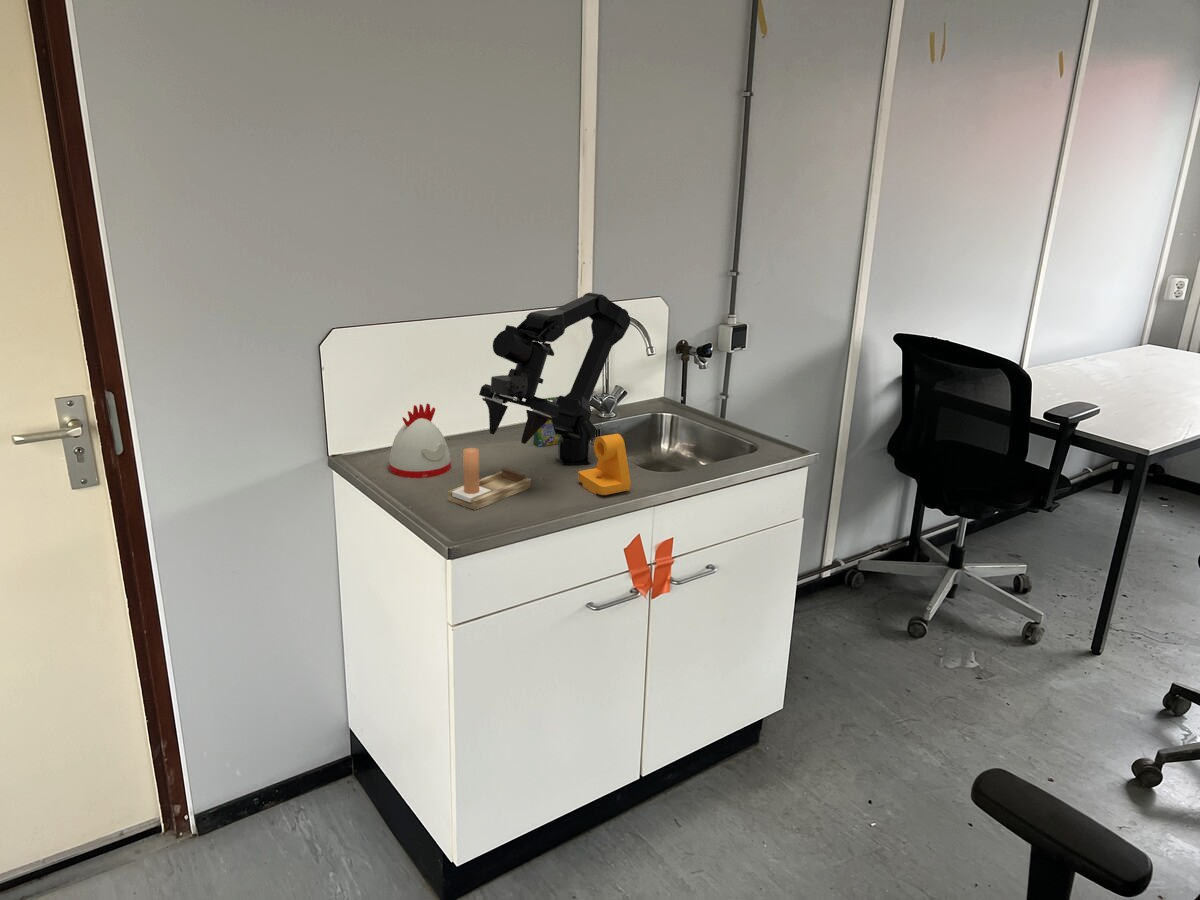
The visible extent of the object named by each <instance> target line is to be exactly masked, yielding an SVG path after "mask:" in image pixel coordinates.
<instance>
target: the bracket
mask: <svg viewBox="0 0 1200 900" xmlns="http://www.w3.org/2000/svg"><path fill="white" fill-rule="evenodd" d="M593 451H594V454H595V457H596V458H597V459H598V460H597V462H596V466H595V467H594V468H589V469H584V470H579V471H578V472H577V473H578V474H577V481H578V482H580V483H581V484H582V485H581V487H582V486H583V488H584V489H586V490H587V491H589V492H590V491H591V493H594V494H593V495H595V494H598V495H601V496H607V495H611V494H617V493H621V492H625V491H627V492H628V491H630V490H631V482H632V481H631V475H630V467H629V464H628V463H629V462H628V456H627V449H626V445H625V439H624V437H622V435H621V434H620V433H613V434H606V435H601V436H596V437H595V439H594V441H593Z"/></svg>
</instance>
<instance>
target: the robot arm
mask: <svg viewBox="0 0 1200 900" xmlns="http://www.w3.org/2000/svg"><path fill="white" fill-rule="evenodd" d="M587 318H590V320H591V321H592V322H591V324H590V328H591V335H592V339H591V342H590V344H589V346H588V348H587V351H586V353H585V356H584V358H583V360H582V363H581V365H580V368H579V370H578V372H577V374H576V376H575V379H574V382H573V384H572V387H571V389H570V391H569V392H568V393H567V394H566V395H559V396H557V397H558V398H557V402H556V403H553V402H552V400H546V399H543V397H542V398H541V397H538V396H535V395H536V392H537V389H538V386H539V384H540V385H541V384H542V385H543V383H544V380H545V379H544V378H541V377H542V374H543V370H544V366H545V363H546V360H547V357H548V356H551V357H554V356H555V352H554V349H553V348H552V346H551V343H554V342H555V341H557V340H558V339H559V338H560V337H562V336H563V335H564V334H565V331H566V329H568V328H569V327H570V326H572V325H574V324H576V323H579V322H581V321H582V320H584V319H587ZM630 325H631V315H629V312H628V311H627V309H626V308H623V307H621V306H619V305H618V304H617V303H615V302H613V301H612V300H610V299H609V298H608V297H607V296H605V295H604V294H603V293H595V292H586V293H584V294H583V296H580V297H578V298H576V299H574V300H572V301H569V302H567V303H565V304H563V305H561V306H559V307H557V308H554V309H547V310H546V309H544V310H543V309H542V310H535V311H531V312H530V313H528V314H527V315H526V316H525V319H524V320H523V321H522V322H521V323H520V324H519V325H518V326H513V325H509V324H507V325H505V329H504V330H502V331H500V332H499V333H498V334H497V335H496V337H495V338H494V339H493V341H492V351H493V352H494V353H493V354H495V355H496V356H498V357H500V358H502V359H504V360H507V361H509V362H511V363H513V364H515V365H516V366H515V368H511V369H510V370H509V372H508V374H507V375H506V374H503V375H493V376H491V379H490V384H487V383H484V384H483V385H482V386H481V387H480V390H479V393H478V395H479V396H481V397H482V398H481V399H482V401H484V402H485V404H486V405H487V409H488V418H489V419H488V421H489V434H490V435H495V433H496V432H497V430H498V428H499V426H500V424H501V422H502V420H503V418H504V416H505V413H506V411H507V409H508V407H509V406H508V405H506V404H507V403H508V402H509V403H512V404H516V405H519V406H522V407H523V406H524V407H526V408H530V409H531V410H529V409H526V410H525V411H526V417H527V419H526V423H525V426H524V429H523V433H522V437H521V444H523V445H525V444H527V443H528V441H530V439H531V438H532V437H534V434H535V433H536V432H537V431H538V429H539V428H541V427H542V426H543V425H544V424H545V423H546V422H547V421H548V420H552V424H553V427H554V431H555V434H559V435H561V440H559V441H558V444H557V445H558V446H557V457H558V459H559V461H560V462H561V463H562V465H563V466H571V465H572V466H573V465H589V464H590V463H591V461H590V459H589V447H590V446H589V442H590V441H592V439H594V438H596V437H595V436H596V432H597V428H596V426H595V425H594V424H593V423H592V421H591V420H590V418H591V415H592V410H591V403H590V401H591V397H592V395H593V393H594V390H595V388H596V385H597V384H598V381H599V378H600V377H601V374H602V372H603V370H604V367H605V364H606V362H607V360H608V357H609V355H610V352H611V351H612V350H611V349H612V347H613V346H615V345H616V344H617V343H618V342H619V341H621V340H622V339H623V337H624V336H625V334H626V332H627V331H628V329H629V326H630ZM523 399H524V400H523ZM550 416H552V417H551V418H550Z"/></svg>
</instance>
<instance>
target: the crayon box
mask: <svg viewBox="0 0 1200 900" xmlns="http://www.w3.org/2000/svg"><path fill="white" fill-rule="evenodd" d="M558 397H559V396H555V397H554V396H553V397H552V396H551V397H547V398H546V397H545V398H543V397H542V399H546V400H549V401H551V402H553V403H556V402H557V398H558ZM551 417H552V416H550V418H551ZM559 440H561V435H559V434H555V431H554V427H553V424H552V420H548V421H547V422H546V423H545V424H544V425H543V426H542V427H541V428H539V429H538V431H537V432H536V433H535V434H534V435H533V441H532V442H533V445H535V446H537V447H539V448H540V446H541V447H547V446H552V445H558V441H559Z"/></svg>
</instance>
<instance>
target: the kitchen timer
mask: <svg viewBox="0 0 1200 900" xmlns="http://www.w3.org/2000/svg"><path fill="white" fill-rule="evenodd" d="M412 410H413V411H412V412H411V411H409V410H408V411H407V416H408V420H407V419H406V417H401V418H402V420H403V423H404V424H403V425H402V426H401V427H400V429H399V430H398V431H397V433H396V434H395V437H394V439H393V441H392V446H391V449H390V453H389V461H388V466H389V471H390V473H392V474H393V473H394V475H395V474H396V475H395V476H398V475H399V477H403V478H408V477H410V479H423V478H424V477H427V478H433V477H437V476H440V475H443V474H446V473H448V472H449V471H450V470H451V468H452V465H451V463H452V462H451V461H452V460H451V454H450V453H451V452H450V450H449V447H448V444H447V441H446V438H445V436H444V435H443V433H442V431H441V430H440V429H439V427H438V426H436V425H435V424H434V423H433V422H432V420H433V417H434V415H435V411H436V408H435V407H432V408H431V405H430V403H428V402H427V403H426V406H425V409H424V406H423V404H421V403H419V406H417V405H416V404H414V405H413V409H412Z"/></svg>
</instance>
